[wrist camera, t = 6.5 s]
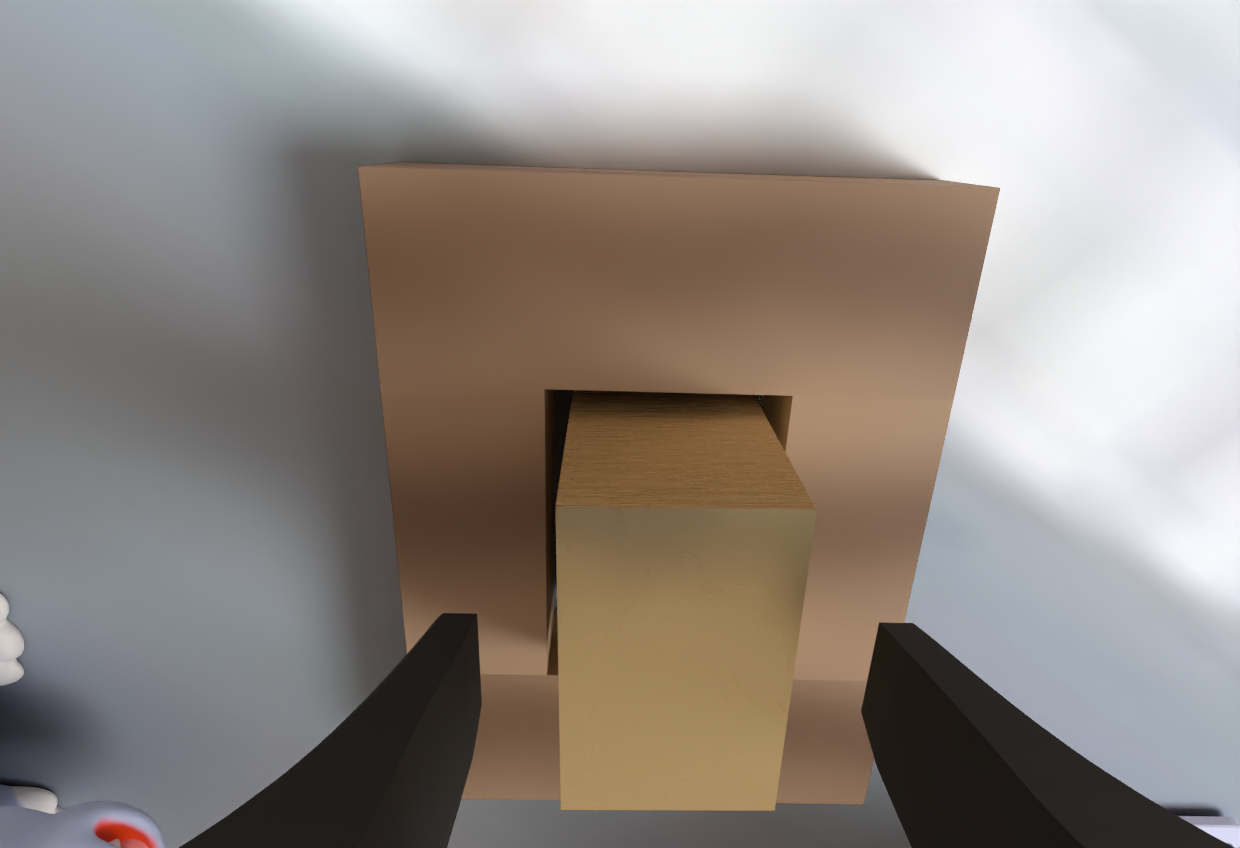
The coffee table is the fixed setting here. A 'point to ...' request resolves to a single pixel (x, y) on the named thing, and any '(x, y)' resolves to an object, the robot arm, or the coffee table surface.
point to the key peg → (676, 601)
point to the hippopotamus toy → (29, 817)
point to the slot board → (663, 362)
